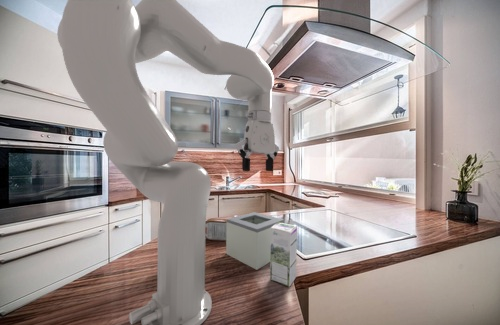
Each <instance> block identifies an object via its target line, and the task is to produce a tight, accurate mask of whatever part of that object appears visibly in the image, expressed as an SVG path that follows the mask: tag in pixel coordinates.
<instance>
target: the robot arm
mask: <svg viewBox="0 0 500 325" xmlns="http://www.w3.org/2000/svg"><path fill="white" fill-rule="evenodd" d="M57 42H58V43H59V46H60V48H61V49H62V56H63V62H64V64H65V67H66V71H67V74H68V76H69V79H70V81H71V83H72V85H73V86H74V88H75V90H76V92H77V93H78V94H79V96H80V98H81V99H82V101H83V102H84V103H85V104H86V106H87V107H88V108H89V110H90V111H91V112H92V114H93V115H94V116H95V117H96V118H97V120H98V121H99V122H100V124H101V125H102V126H103V127H104V128H105V130H106V132H105V133H104V136H103V141H102V142H103V149H104V152H105V154H106V156H107V157H108V159H109V161H111V163H112V164H113V165H114V166H115V167H116V169H117V170H119V171H120V173H121V174H122V175H124V177H125V178H126V179H127V180H128V181H129V182H130V183H131V185H133V187H135V188H136V190H138V192H140V193H141V194H142V195H143V196H145V197H146V198H148V199H149V200H150V201H151V200H152V201H154V202H158V203H161V204H163V210H162V212H161V215H160V218H159V221H158V227H157V268H156V269H157V275H156V277H157V279H156V281H157V283H156V284H157V285H156V288H157V289H156V292H154V293H152V294H151V300H150V301H148V302H147V303H146V305H144V306H142V307H139V308H137V309H135V310H133V311H131V312H129V314H128V315H129V316H128V319H129V324H130V325H133V324H136V323H138V322H140V323H141V325H202V324H203V323H204V322H205V321H206V320H207V318H208V317H209V316H210V313H211V312H212V311H211V310H212V306H213V304H212V302H213V301H212V300H213V299H212V296H211V294H210V293H209V292H208V291H206V290H205V288H206V287H205V286H206V285H205V284H206V280H205V278H206V275H205V274H206V238H205V227H206V221H207V211H208V204H209V199H210V194H211V188H212V182H211V177H210V173H209V172H208V171H207V170H206V169H205V168H204V167H203V166H202V165H200V164H198V163H195V162H190V161H174V159H175V158H176V156H177V154H178V152H179V142H178V138H177V137H176V134H175V133H174V132H173V130H172V128H171V126H170V125H169V124H168V122H167V121H166V119H165V118H164V116H163V115H162V113H161V112H160V111H159V109H158V108H157V106H156V105H155V103H154V101H153V100H152V99H151V98H150V96H149V95H148V92H147V91H146V89H145V88H144V86H143V84H142V82H141V80H140V78H139V75H138V71H137V66H136V64H138V63H143V62H145V61H148V60H152V59H154V58H157V57H158V56H160V55H162V54H164V53H165V52H169V53H171V54H172V55H174V56H175V57H177V58H179V59H181V60H182V61H183V62H184V63H186V64H188V65H190V66H191V67H193V68H194V69H195V70H197V71H198V72H200V73H202V74H205V75H213V76H229V77H228V79H227V80H226V84H225V87H226V90H227V93H228V94H229V95H230V96H231V97H232V98H234V99H235V100H236V99H237V100H239V101H240V100H241V101H246V102H247V103H248V104H247V105H248V111H247V112H246V113H245V117H246V118H247V121H246V124H245V129H244V134H243V139H242V140H240V141H238V142H236V143H235V148H236V149H237V153H238V154H239V156H240V158H241V159H242V160H241V161H242V162H241V165H242V171H243V172H250V171H251V158H249V157H250V156H251V155H252V154H261V155H262V154H263V155H264V156H265V157H266V158H267V159H265V171H266V172H274V160H275V159H276V157H277V155H278V152H279V150H280V146H278V145H277V144H276V139H275V138H276V136H275V129H274V124H273V123H272V94H273V93H272V92H273V91H272V90H273V87H274V85H275V84H274V82H275V79H274V74H273V72H272V70H271V68H270V66H269V65H268V63H267V62H266V61H265V60H264V59H263V58H262V57H261V56H260V55H259V54H258V53H257V52H255V51H253V50H252V49H250V48H247V47H245V46H242V45H238V44H235V43H232V42H229V41H224V40H222V39H220V38H218V37H217V36H216V35H215V34H213V32H211V30H209V28H207V27H206V26H205V25H204V24H203V23H201V22H200V20H199V19H197V18H196V17H195V16H194V15H193V14H192V13H190V11H188V10H187V8H185V7H184V6H183V5H182V4H181V3H179V1H177V0H141V1H139V3H137V5H136V6H135V4H134V3H133V1H132V0H67V2H66V3H65V6H64V9H63V12H62V17H61V20H60V21H59V24H58V27H57Z"/></svg>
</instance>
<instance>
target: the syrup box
mask: <svg viewBox="0 0 500 325" xmlns="http://www.w3.org/2000/svg"><path fill="white" fill-rule="evenodd" d="M297 246H298V225H295V224H289V223H285V222H284V223H276V224H275V225H273V226H272V227H271V251H270V262H269V263H270V264H269V265H270V266H269V271H270V272H269V279H270V280H271V281H273V282H276V283H279V284H281V285H283V286H286V287H291V285H292V284H293V282H294V281H295V280H296V278H297V258H298V257H297V253H298V252H297V249H298V248H297Z"/></svg>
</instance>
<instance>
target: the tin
mask: <svg viewBox="0 0 500 325" xmlns="http://www.w3.org/2000/svg"><path fill="white" fill-rule="evenodd" d="M227 219H228V218H214V217H213V218H211V217H210V218H208V219H206V227H205V239H206V240H208V241H218V242H219V241H220V242H226V236H227Z"/></svg>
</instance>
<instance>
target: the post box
mask: <svg viewBox="0 0 500 325" xmlns="http://www.w3.org/2000/svg"><path fill="white" fill-rule="evenodd" d="M226 219H227V236H226V241H225V243H226V245H225V246H226V247H225V250H226V251H225V253H226V255H227V256H229V257H231V258H233V259H235V260H236V261H239V262H241V263H242V264H244V265H246V266H248V267H250V268H252V269H255V270H256V271H257V270H259V269H261V268H262V267H264V266H266V265H267V264H269V263H270V251H271V227H272V226H273V225H275V224H276V223H284V224H285V219H283V218H279V217H275V216H271V215H267V214H264V213H260V212H256V211H253V212H249V213H246V214H245V213H244V214H240V215H238V216H234V217H229V218H226Z"/></svg>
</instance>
